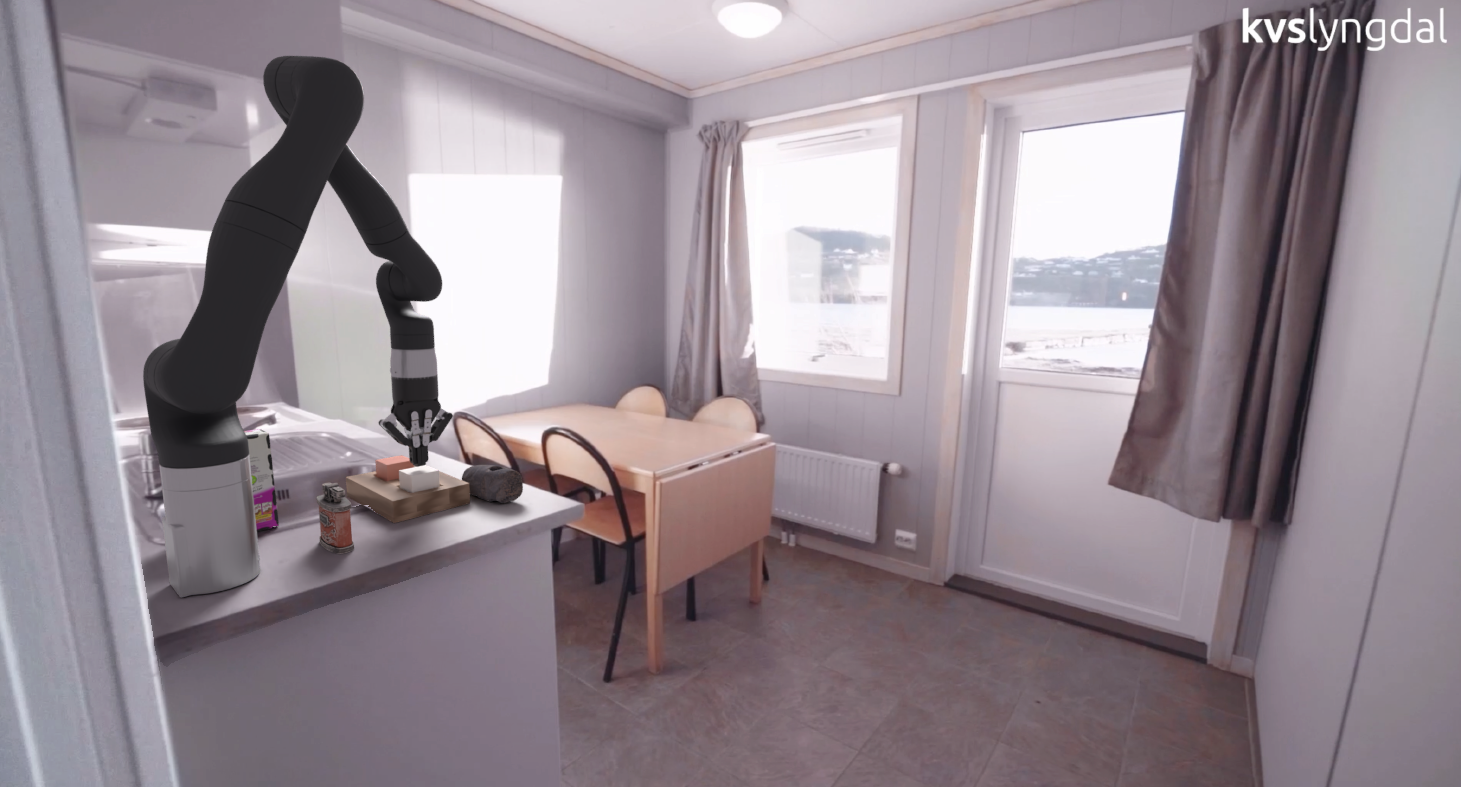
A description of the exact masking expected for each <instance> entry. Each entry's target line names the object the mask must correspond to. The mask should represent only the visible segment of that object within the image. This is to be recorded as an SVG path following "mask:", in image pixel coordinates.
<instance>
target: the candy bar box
mask: <svg viewBox="0 0 1461 787" xmlns="http://www.w3.org/2000/svg"><path fill="white" fill-rule="evenodd" d="M244 432H245V434H246V436H247V438H248V445H249V456H250V466H251V477H252V488H253V498H254V508H255V518H256V529H257V533H259V532H263V531H266V530H269V529H274V528H276V527H274V528H272V527H273V526H278V527H279V526H280V523H279V513H278V512H279V511H278V503H277V494H276V485H275V479H274V478H275V477H274V468H273V458H272V448H271V437H270V433H269V432H267V431H265V430H262V428H257V429H249V430H244ZM267 528H268V529H267Z"/></svg>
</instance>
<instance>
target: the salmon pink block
mask: <svg viewBox="0 0 1461 787" xmlns="http://www.w3.org/2000/svg"><path fill="white" fill-rule="evenodd" d="M413 467H414V465H413V464H412V463H411V462H410V460H409V457H408V456H404V455H395V456H391V457H384V458H378V459H375V471H376V477H378V478H380V479H382V480H384V481H390V480H395V479H399V470H403V469H408V468H413Z"/></svg>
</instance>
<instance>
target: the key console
mask: <svg viewBox="0 0 1461 787" xmlns="http://www.w3.org/2000/svg"><path fill="white" fill-rule="evenodd" d="M414 467H416V466H414ZM439 484H440V487H436V488H431V489H427V490H423V491H418V492H414V493H409V492H407V491H405V490H403V489H401V488H400V482H399V479H395V480H390V481H384V480H382V479H380V478H378V477H376V470H374V471H370V472H365V473H360V474H354V475H349V476H346V477H345V487H346V498H347V499H350V500H352V501H354V502H356V503H357V504H359V505H361V506H363V505H369V506H368V507H371V509H373V511H375V512H376V513H375V512H374V513H375V514H377V513H378V514H377V515H379V514H380V515H381V516H380V515H379V516H380V517H382V516H383V517H382V518H384V519H385V520H388V521H389V522H391V523H393V524H397V523H400V522H405V521H408V520H412V519H415V518H416V519H417V518H419V517H422V516H423V517H424V516H427V515H430V514H434V513H437V512H438V513H439V512H443V511H446V510H449V509H453V508H457V507H461V506H465V505H469V504H471V496H470V495H471V494H470V488H469V483H467V482H465V481H462V479H460V478H457V477H455V476H453V475H450V474H447V473H445V472H442V471H440V470H439ZM373 511H372V512H373Z"/></svg>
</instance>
